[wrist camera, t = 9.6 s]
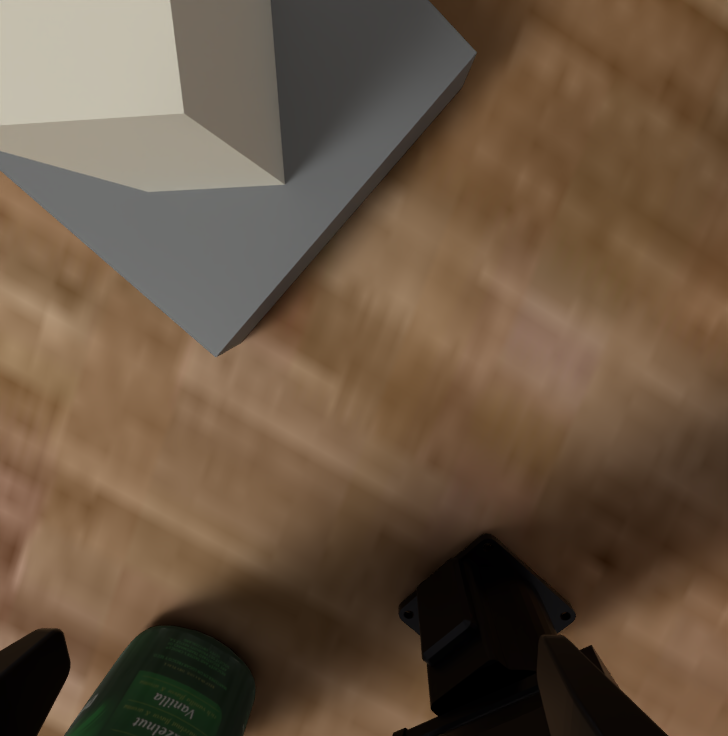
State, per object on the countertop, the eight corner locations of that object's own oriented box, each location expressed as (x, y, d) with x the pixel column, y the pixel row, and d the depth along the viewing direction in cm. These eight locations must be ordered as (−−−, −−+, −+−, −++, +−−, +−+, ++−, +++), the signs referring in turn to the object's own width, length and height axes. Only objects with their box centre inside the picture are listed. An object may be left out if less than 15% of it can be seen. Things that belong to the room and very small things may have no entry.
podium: (462, 86, 17) (476, 52, 14) (240, 343, 20) (215, 357, 17) (225, -164, 16) (188, -258, 13) (23, 152, 19) (-43, 132, 16)
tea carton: (284, 184, 16) (183, 112, 8) (148, 191, 16) (-75, 130, 8) (269, -15, 14) (129, -333, 7) (120, -2, 15) (-181, -293, 7)
